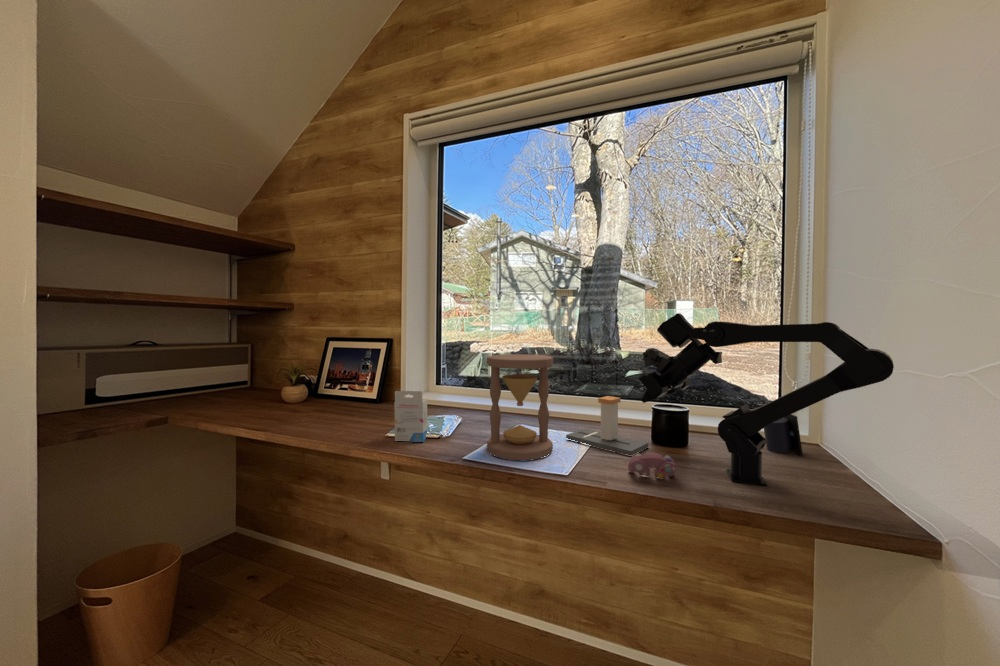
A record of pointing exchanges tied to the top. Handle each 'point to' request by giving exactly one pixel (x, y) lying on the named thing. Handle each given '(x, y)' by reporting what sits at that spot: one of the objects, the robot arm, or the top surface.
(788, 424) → the speaker
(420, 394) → the ink box
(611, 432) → the fader knob
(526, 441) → the hourglass
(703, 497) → the top surface
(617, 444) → the grey grooved tray
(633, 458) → the video game controller
